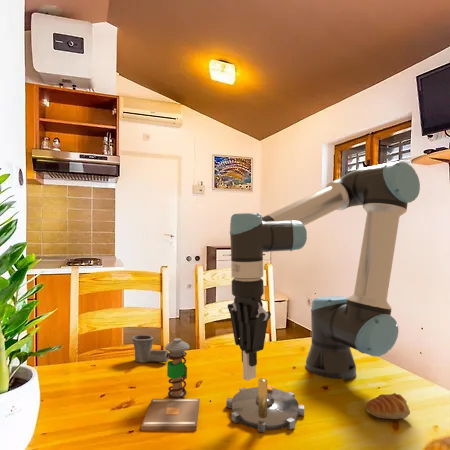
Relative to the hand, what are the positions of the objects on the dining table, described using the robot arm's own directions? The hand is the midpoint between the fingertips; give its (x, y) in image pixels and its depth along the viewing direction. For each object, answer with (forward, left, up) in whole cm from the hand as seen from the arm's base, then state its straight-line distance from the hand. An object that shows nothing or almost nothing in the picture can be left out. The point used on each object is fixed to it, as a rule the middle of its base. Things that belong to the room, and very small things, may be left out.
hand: (249, 377), depth 82 cm
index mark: (-7, -12, -9) cm, 16 cm away
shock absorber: (+18, -9, -9) cm, 22 cm away
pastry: (-30, -2, -10) cm, 32 cm away
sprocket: (-4, -2, -9) cm, 10 cm away
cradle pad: (+18, 0, -9) cm, 20 cm away
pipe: (+30, -32, -9) cm, 45 cm away
